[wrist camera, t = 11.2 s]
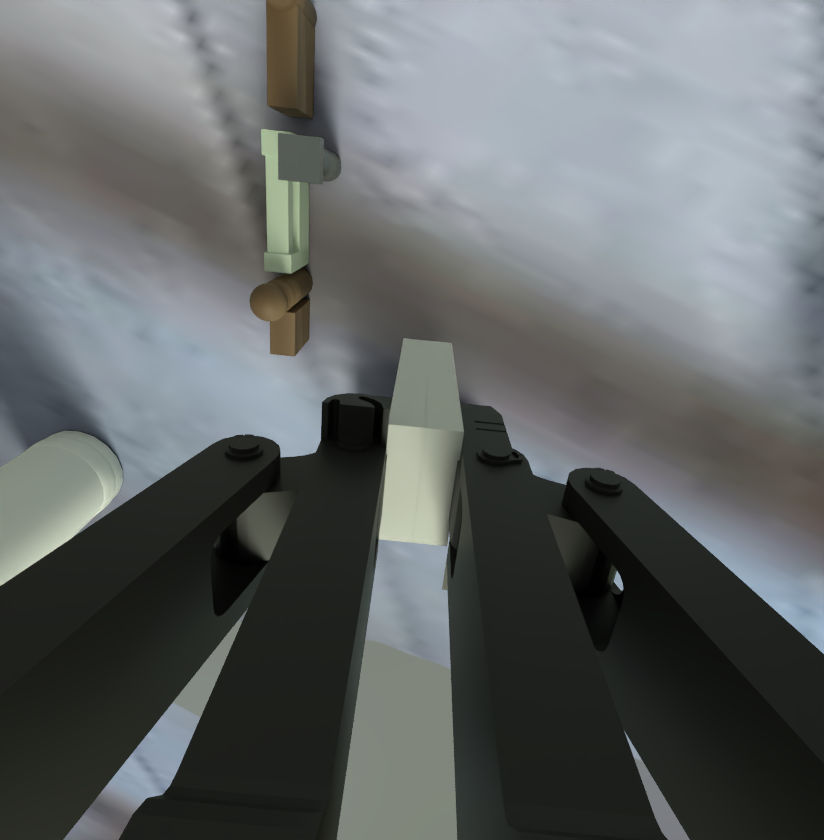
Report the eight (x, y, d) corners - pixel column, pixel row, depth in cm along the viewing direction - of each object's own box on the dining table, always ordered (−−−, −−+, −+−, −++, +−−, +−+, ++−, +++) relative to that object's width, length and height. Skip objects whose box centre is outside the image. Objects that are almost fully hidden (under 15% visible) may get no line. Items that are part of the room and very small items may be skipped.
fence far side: (317, 0, 34) (291, -44, 28) (314, 118, 37) (290, 103, 31) (286, -4, 34) (253, -49, 28) (286, 116, 37) (256, 100, 31)
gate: (308, 263, 40) (291, 273, 35) (285, 261, 40) (264, 271, 35) (309, 140, 37) (290, 132, 32) (284, 137, 37) (261, 129, 32)
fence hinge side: (314, 268, 41) (282, 288, 32) (312, 339, 43) (283, 376, 35) (283, 265, 41) (244, 284, 32) (283, 336, 43) (246, 372, 35)
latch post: (344, 149, 38) (320, 137, 29) (343, 185, 39) (319, 184, 30) (311, 145, 38) (277, 132, 29) (310, 182, 39) (278, 179, 30)
